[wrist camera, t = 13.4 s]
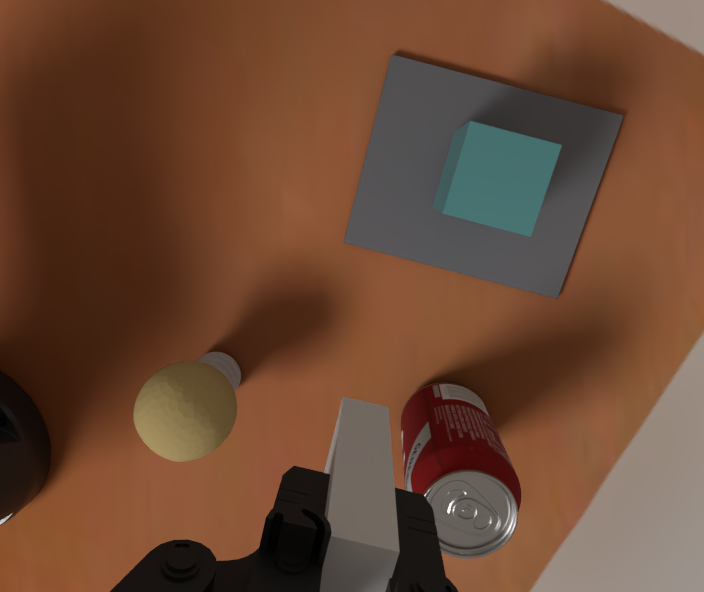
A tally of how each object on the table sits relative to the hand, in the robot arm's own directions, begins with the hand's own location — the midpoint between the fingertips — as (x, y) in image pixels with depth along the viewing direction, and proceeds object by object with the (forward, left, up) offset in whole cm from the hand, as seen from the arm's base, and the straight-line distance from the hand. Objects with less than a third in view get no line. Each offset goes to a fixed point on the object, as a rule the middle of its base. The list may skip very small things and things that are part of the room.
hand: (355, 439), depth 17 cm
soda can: (+8, -8, -23) cm, 25 cm away
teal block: (+5, +10, -21) cm, 24 cm away
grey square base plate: (+5, +10, -22) cm, 25 cm away
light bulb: (-10, -9, -23) cm, 26 cm away
